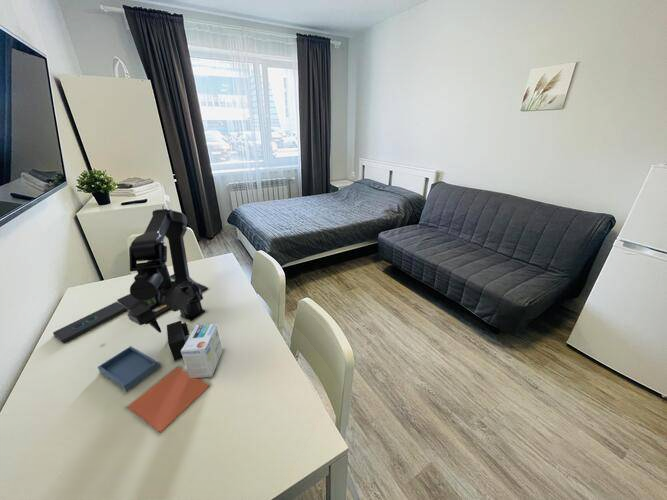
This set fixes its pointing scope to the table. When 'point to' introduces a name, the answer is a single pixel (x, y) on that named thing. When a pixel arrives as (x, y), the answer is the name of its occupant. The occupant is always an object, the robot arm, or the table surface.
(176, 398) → the terracotta mat
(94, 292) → the table surface
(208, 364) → the light bulb box
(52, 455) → the table surface
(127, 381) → the slate tray
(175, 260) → the robot arm
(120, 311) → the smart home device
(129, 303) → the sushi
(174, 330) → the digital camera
